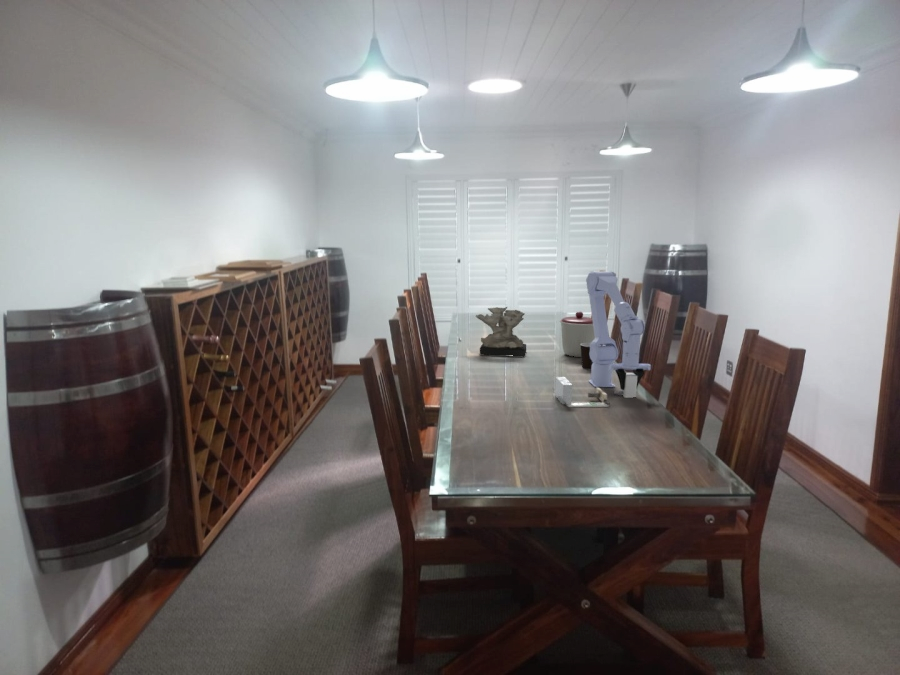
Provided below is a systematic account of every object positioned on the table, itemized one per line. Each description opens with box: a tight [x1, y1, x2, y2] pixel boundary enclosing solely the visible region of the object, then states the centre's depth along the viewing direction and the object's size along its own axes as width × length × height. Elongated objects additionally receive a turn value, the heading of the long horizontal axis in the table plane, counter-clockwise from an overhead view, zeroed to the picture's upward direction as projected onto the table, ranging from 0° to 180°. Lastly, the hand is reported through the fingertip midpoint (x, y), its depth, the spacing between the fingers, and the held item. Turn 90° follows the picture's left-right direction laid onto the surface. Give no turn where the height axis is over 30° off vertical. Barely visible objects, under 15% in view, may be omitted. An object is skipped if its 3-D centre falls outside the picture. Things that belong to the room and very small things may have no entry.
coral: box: [475, 306, 527, 357], centre depth 288 cm, size 25×20×22 cm
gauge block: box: [613, 372, 638, 399], centre depth 214 cm, size 5×7×8 cm
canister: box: [559, 311, 595, 358], centre depth 282 cm, size 18×18×21 cm
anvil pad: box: [587, 387, 611, 405], centre depth 207 cm, size 14×5×3 cm, turn 3°
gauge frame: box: [554, 376, 610, 408], centre depth 207 cm, size 14×15×7 cm
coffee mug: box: [580, 343, 602, 370], centre depth 258 cm, size 12×9×10 cm
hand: (628, 389), depth 214 cm, fingers closed on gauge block, 4 cm apart
